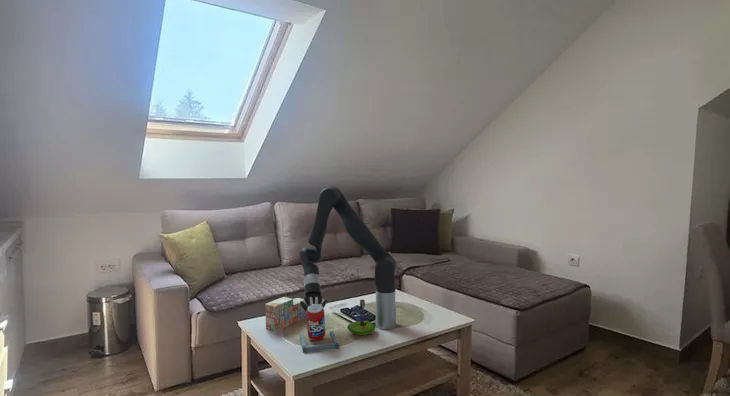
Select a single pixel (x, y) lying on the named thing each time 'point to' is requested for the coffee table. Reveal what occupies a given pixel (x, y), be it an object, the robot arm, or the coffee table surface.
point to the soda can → (315, 322)
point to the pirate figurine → (361, 323)
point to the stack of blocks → (283, 313)
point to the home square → (322, 346)
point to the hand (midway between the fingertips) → (314, 320)
